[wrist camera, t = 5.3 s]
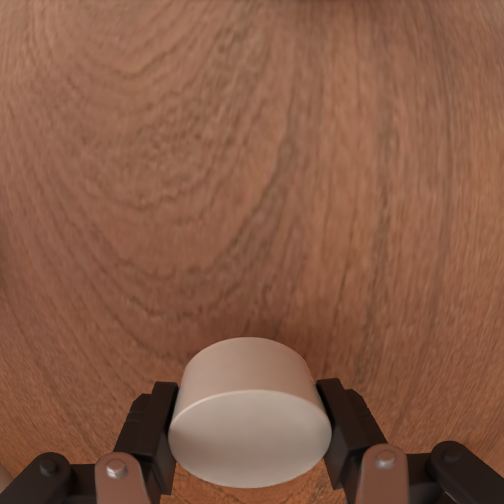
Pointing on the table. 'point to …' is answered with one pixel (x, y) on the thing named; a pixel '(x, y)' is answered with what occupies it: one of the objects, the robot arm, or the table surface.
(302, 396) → the white cylinder
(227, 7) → the table surface
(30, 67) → the table surface
